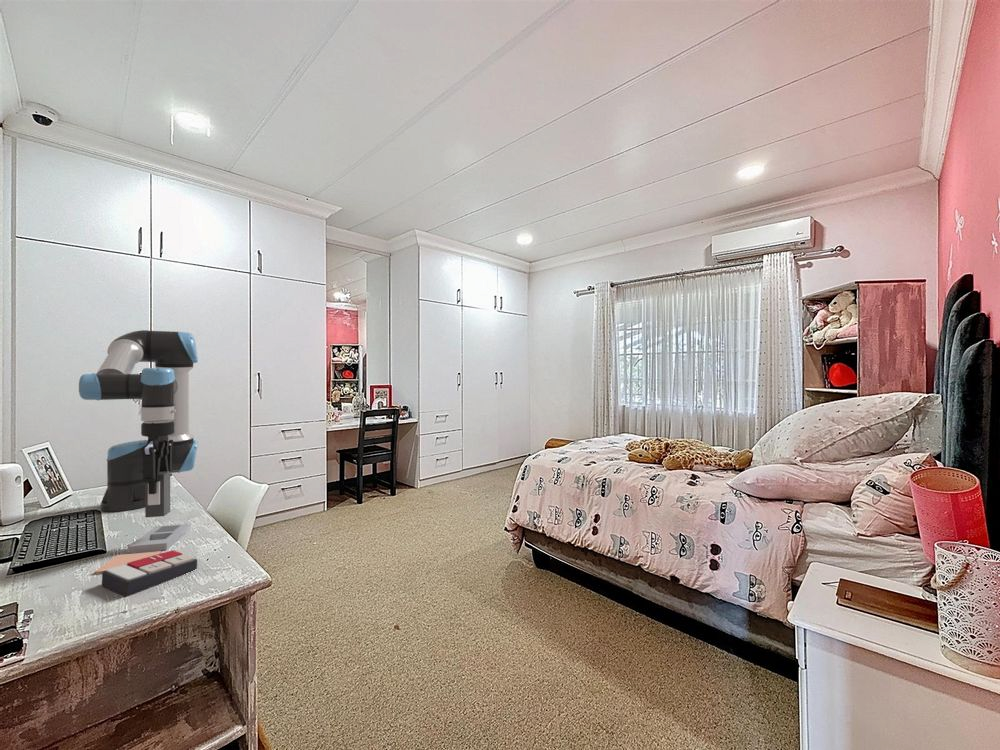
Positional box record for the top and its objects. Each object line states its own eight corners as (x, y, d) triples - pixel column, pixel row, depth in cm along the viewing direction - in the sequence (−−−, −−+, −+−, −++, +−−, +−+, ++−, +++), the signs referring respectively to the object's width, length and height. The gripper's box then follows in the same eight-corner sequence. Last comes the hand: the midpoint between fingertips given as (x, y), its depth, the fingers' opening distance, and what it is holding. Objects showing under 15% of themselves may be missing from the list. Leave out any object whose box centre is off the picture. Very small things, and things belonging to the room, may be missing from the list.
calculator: (198, 556, 110) (126, 578, 96) (197, 573, 109) (125, 598, 96) (173, 548, 114) (101, 568, 101) (172, 564, 114) (100, 587, 101)
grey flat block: (156, 532, 134) (156, 525, 134) (190, 529, 136) (190, 523, 136) (127, 553, 118) (127, 546, 118) (166, 550, 121) (166, 542, 121)
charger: (152, 512, 127) (152, 472, 127) (170, 511, 128) (170, 471, 128) (145, 517, 123) (145, 475, 123) (164, 516, 124) (163, 474, 124)
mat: (117, 557, 116) (117, 555, 116) (161, 553, 119) (161, 551, 119) (93, 574, 106) (93, 571, 106) (142, 569, 109) (142, 567, 109)
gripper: (159, 424, 118) (159, 510, 118) (185, 417, 134) (185, 492, 135) (126, 425, 116) (126, 512, 116) (156, 418, 132) (156, 494, 133)
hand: (158, 501), depth 125 cm, fingers closed on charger, 4 cm apart
